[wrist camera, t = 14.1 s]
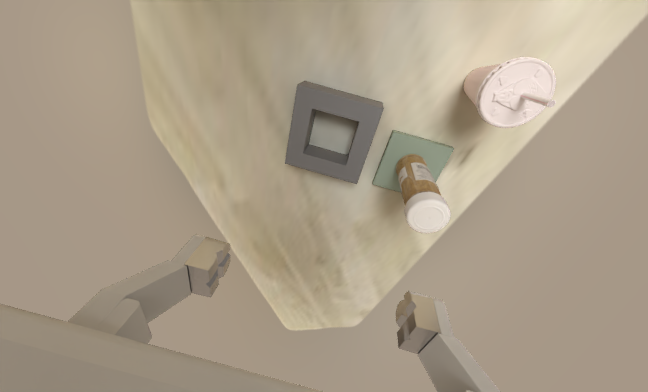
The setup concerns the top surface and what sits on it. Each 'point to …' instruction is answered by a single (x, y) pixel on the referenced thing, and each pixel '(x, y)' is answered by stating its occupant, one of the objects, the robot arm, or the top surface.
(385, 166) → the rubber mat
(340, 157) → the socket block
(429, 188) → the sprinkles bottle
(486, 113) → the smoothie
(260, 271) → the top surface
